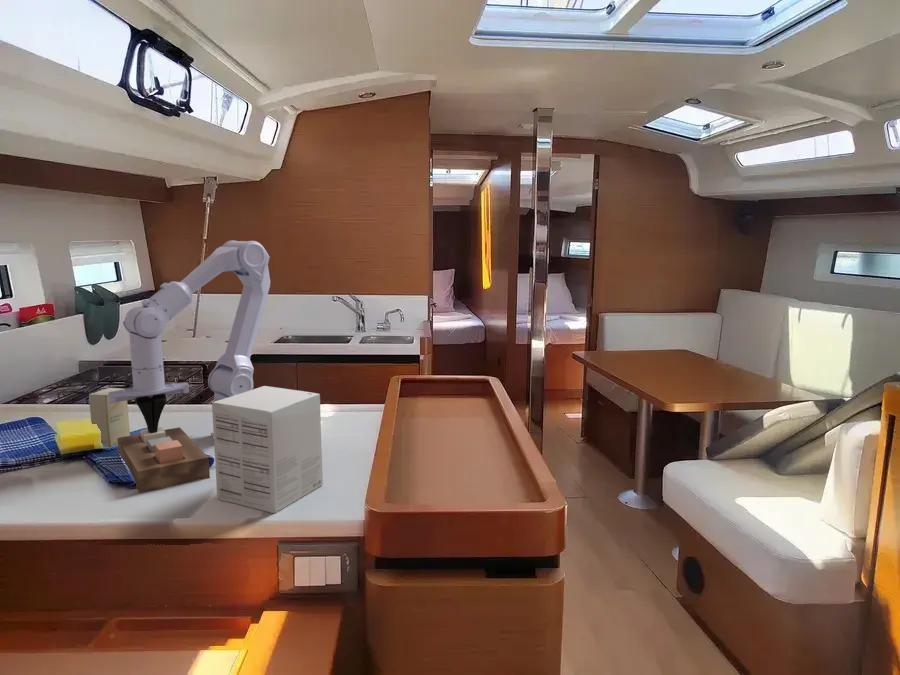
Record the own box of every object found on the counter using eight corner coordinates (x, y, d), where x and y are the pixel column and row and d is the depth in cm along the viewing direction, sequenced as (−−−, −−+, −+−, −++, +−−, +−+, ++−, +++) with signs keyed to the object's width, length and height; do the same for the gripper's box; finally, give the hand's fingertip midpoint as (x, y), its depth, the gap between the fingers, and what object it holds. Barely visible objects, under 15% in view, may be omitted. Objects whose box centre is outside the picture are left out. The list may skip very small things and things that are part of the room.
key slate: (170, 453, 123) (169, 436, 122) (175, 458, 120) (173, 441, 119) (148, 457, 120) (147, 440, 120) (152, 463, 117) (151, 445, 117)
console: (180, 445, 132) (179, 427, 132) (209, 477, 115) (208, 457, 114) (118, 456, 125) (117, 437, 125) (139, 493, 108) (137, 471, 107)
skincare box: (110, 451, 128) (105, 395, 126) (92, 450, 129) (87, 394, 127) (131, 441, 134) (127, 388, 132) (114, 440, 135) (109, 386, 133)
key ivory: (162, 443, 128) (161, 427, 128) (166, 448, 125) (165, 432, 124) (141, 447, 126) (140, 430, 125) (145, 452, 123) (144, 435, 122)
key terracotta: (178, 457, 117) (177, 439, 116) (183, 463, 114) (182, 445, 113) (155, 461, 115) (154, 444, 114) (160, 468, 111) (159, 450, 111)
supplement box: (268, 472, 118) (264, 384, 115) (324, 485, 112) (321, 392, 109) (215, 499, 106) (209, 401, 103) (274, 514, 100) (270, 411, 97)
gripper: (181, 359, 130) (185, 420, 132) (103, 367, 121) (109, 433, 124) (189, 364, 124) (193, 429, 127) (109, 374, 116) (115, 442, 118)
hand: (152, 431), depth 125 cm, fingers closed, pressing on key ivory
